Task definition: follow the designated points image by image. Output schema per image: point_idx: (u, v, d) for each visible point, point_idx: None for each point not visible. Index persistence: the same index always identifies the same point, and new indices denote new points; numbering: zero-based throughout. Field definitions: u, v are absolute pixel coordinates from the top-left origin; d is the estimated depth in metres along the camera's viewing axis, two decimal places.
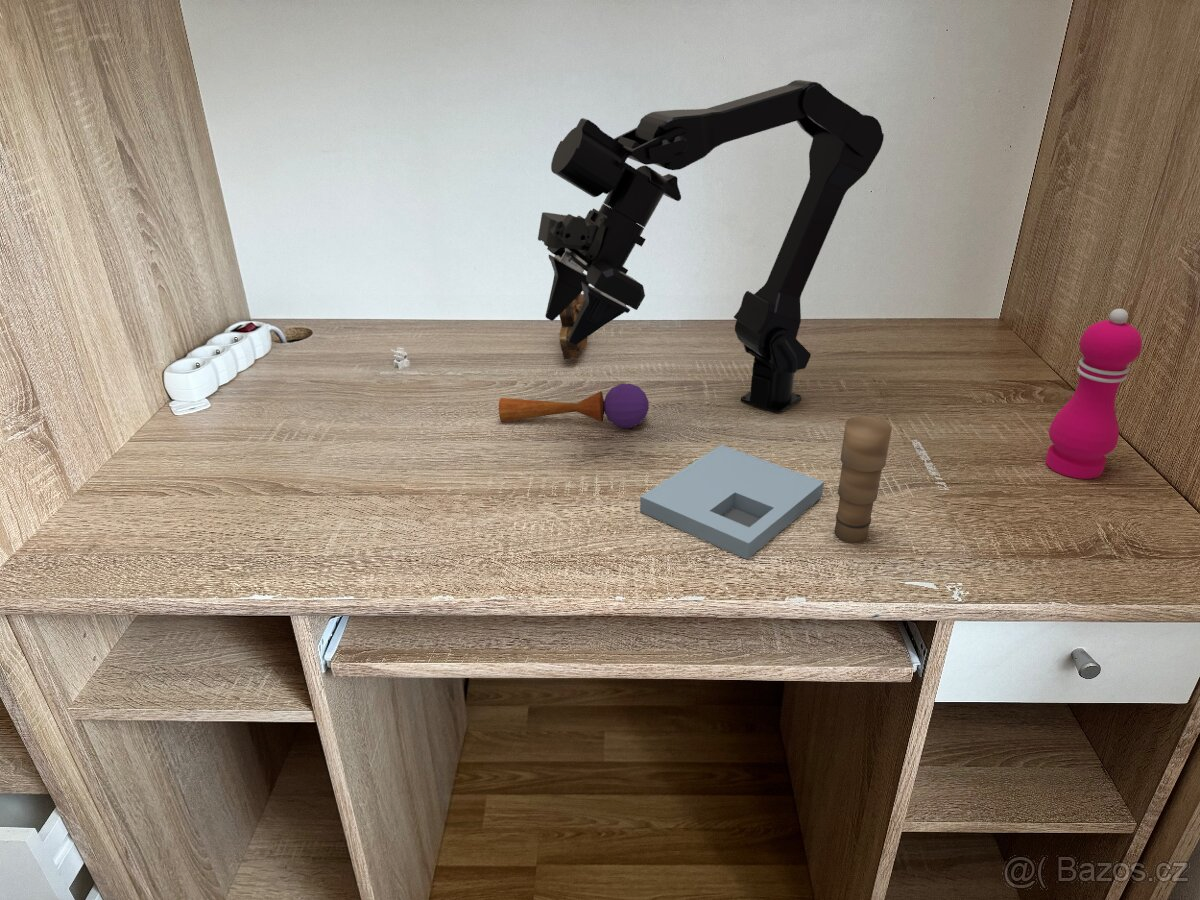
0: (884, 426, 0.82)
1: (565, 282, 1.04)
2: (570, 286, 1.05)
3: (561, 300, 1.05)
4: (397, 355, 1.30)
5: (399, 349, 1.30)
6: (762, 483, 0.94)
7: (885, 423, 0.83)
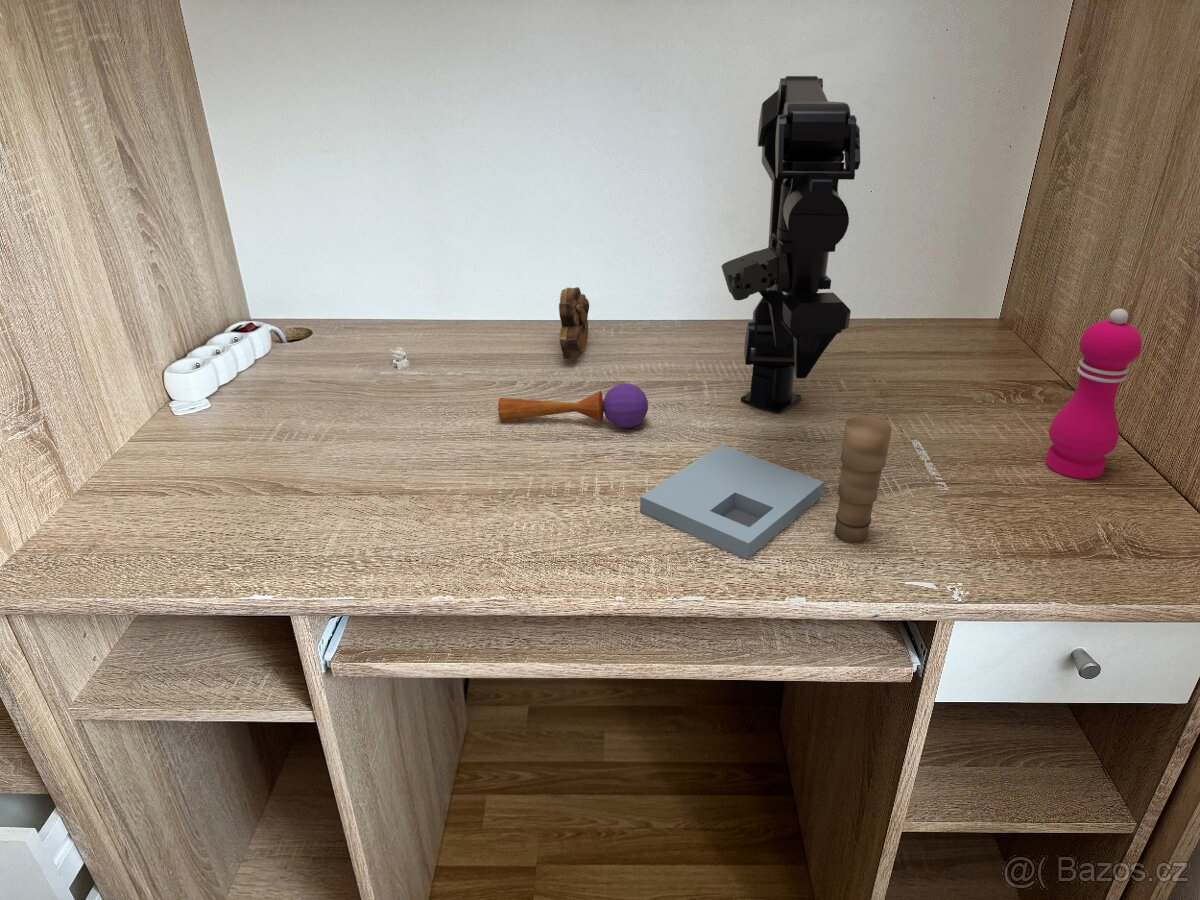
0: (884, 426, 0.82)
1: (781, 307, 0.99)
2: None
3: (784, 326, 0.99)
4: (396, 355, 1.30)
5: (398, 349, 1.30)
6: (762, 483, 0.94)
7: (885, 423, 0.83)
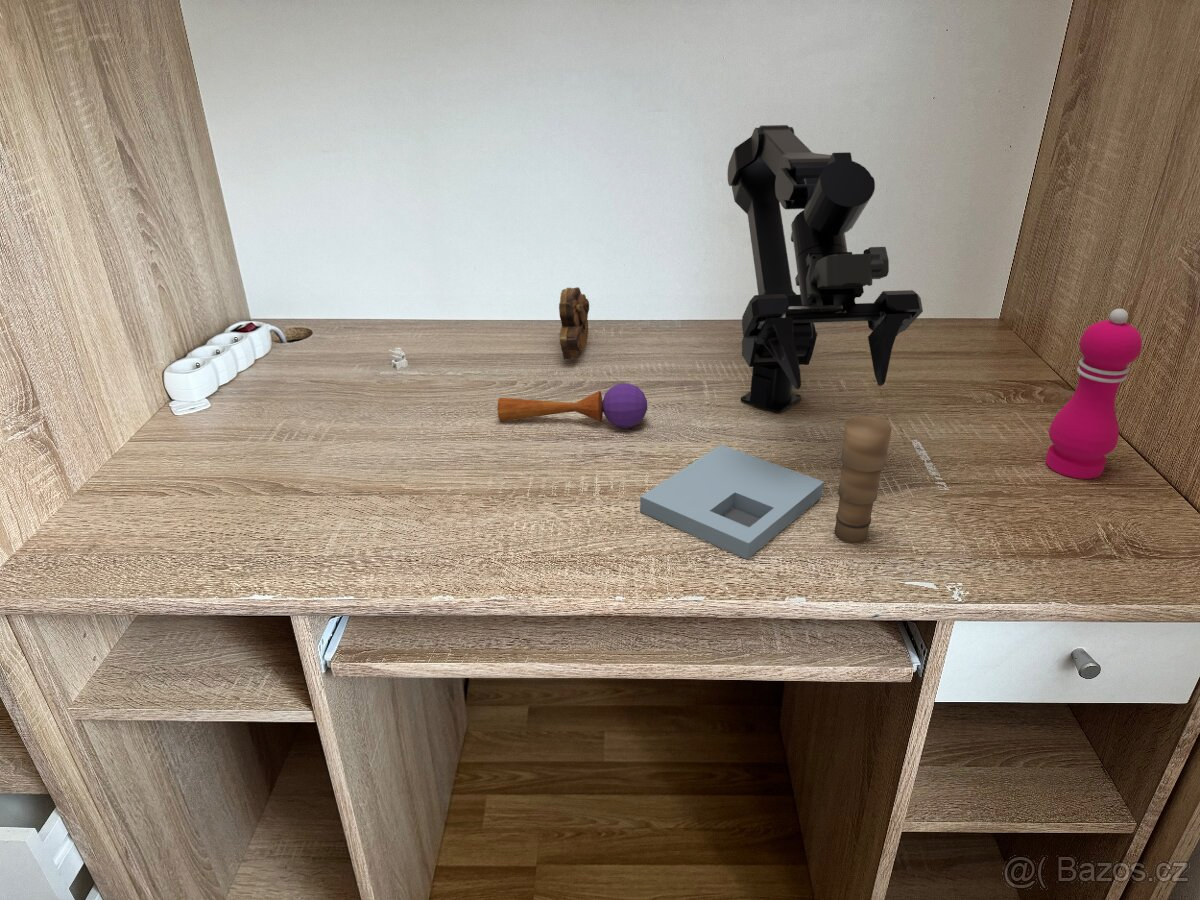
0: (884, 426, 0.82)
1: None
2: None
3: None
4: (395, 355, 1.30)
5: (397, 349, 1.30)
6: (762, 483, 0.94)
7: (885, 423, 0.83)
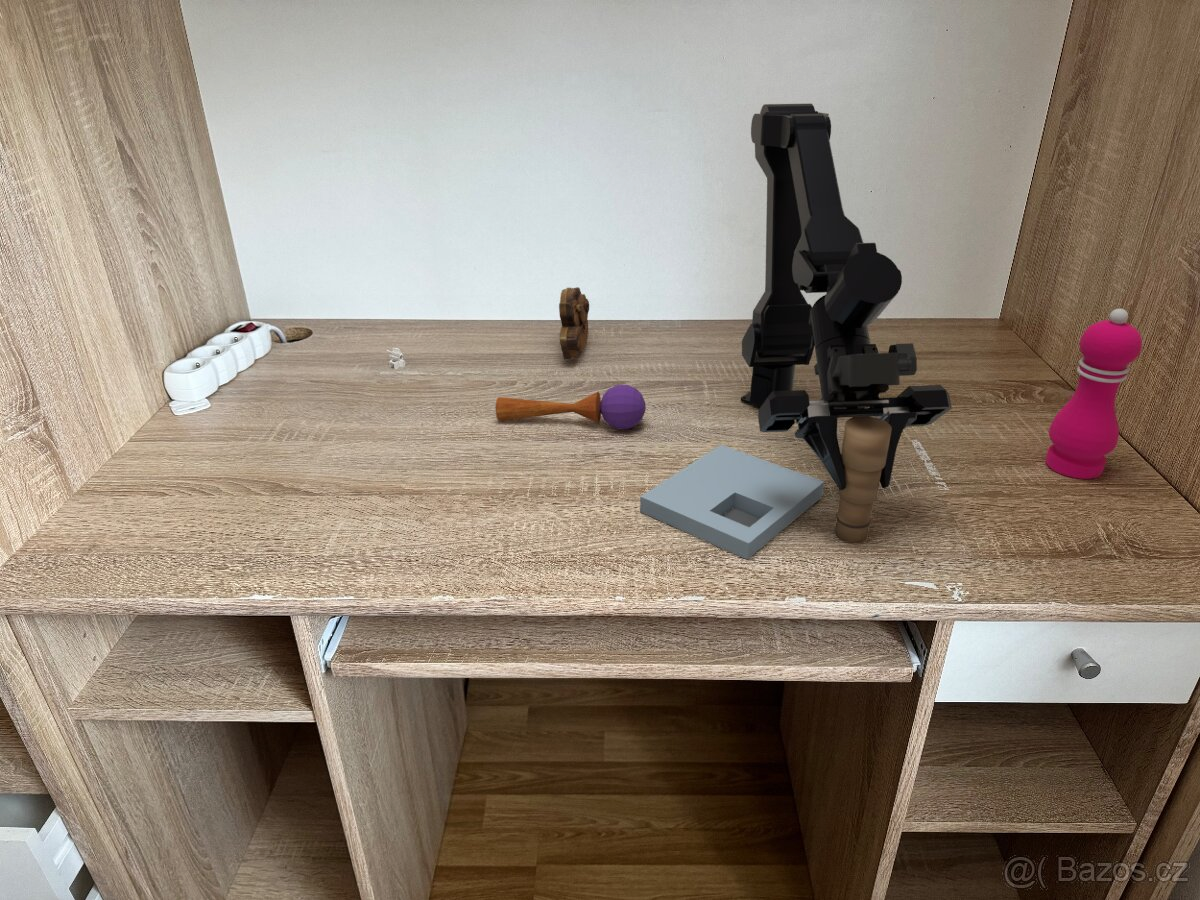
0: (884, 426, 0.82)
1: None
2: None
3: None
4: (393, 355, 1.30)
5: (395, 349, 1.30)
6: (762, 483, 0.94)
7: (885, 423, 0.83)
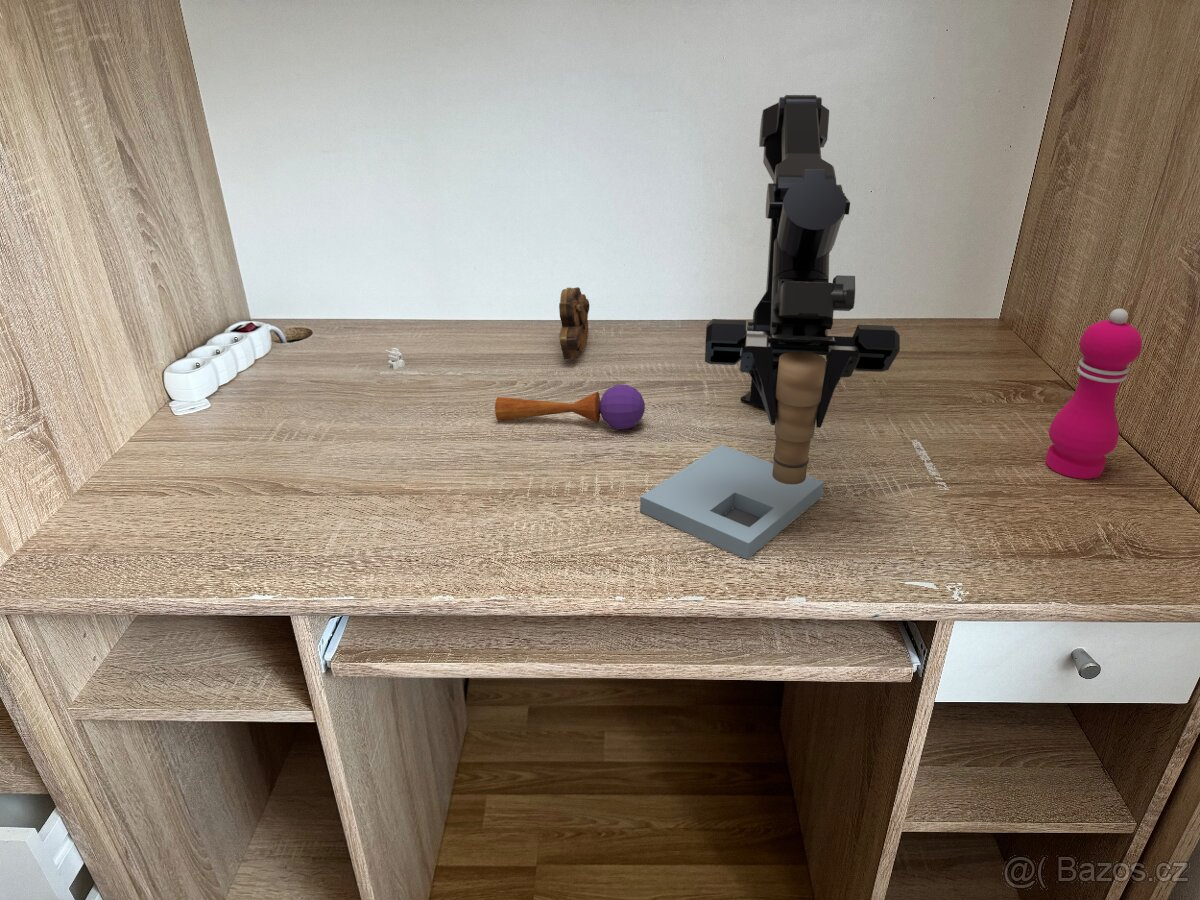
0: (818, 361, 0.79)
1: None
2: None
3: None
4: (392, 355, 1.30)
5: (394, 349, 1.30)
6: (762, 483, 0.94)
7: (822, 358, 0.80)
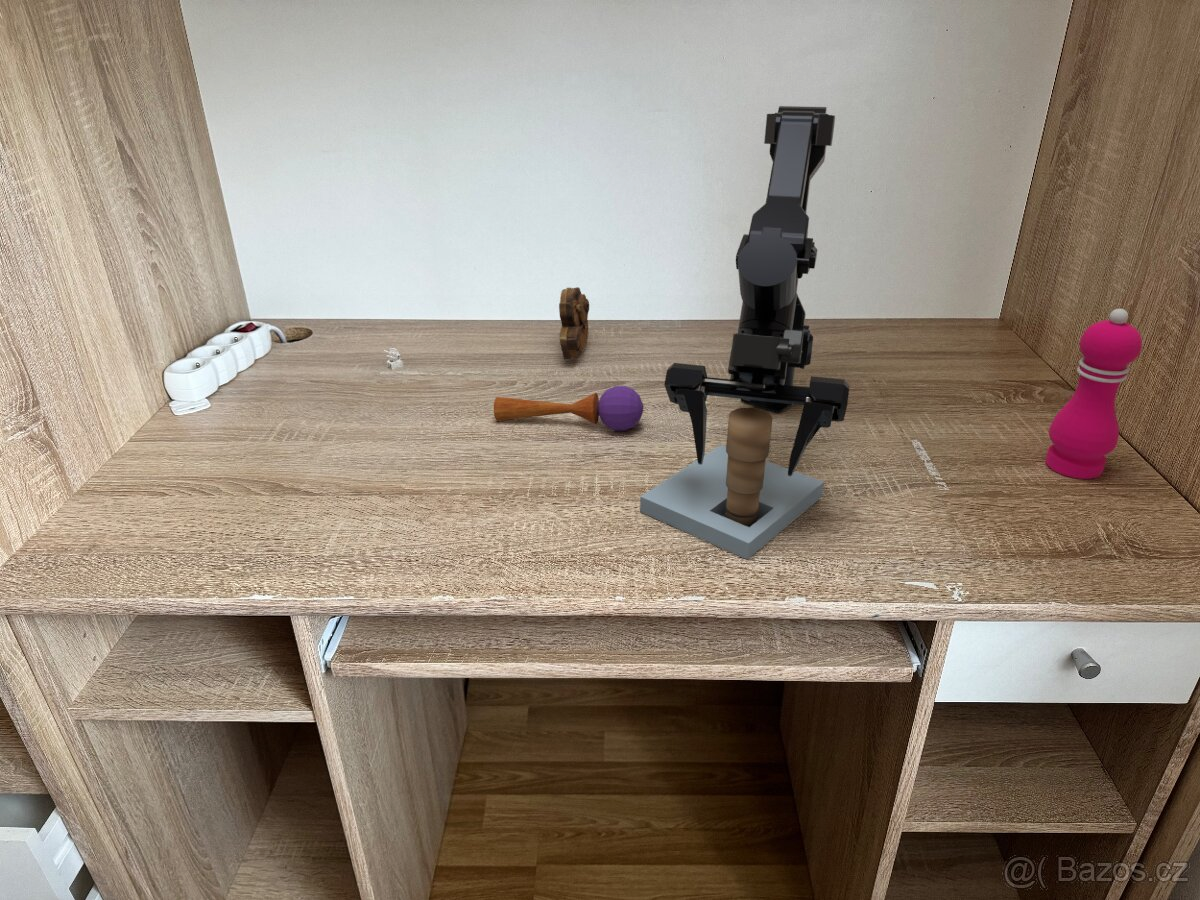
0: (765, 420, 0.83)
1: None
2: None
3: (704, 438, 0.87)
4: (390, 355, 1.30)
5: (392, 349, 1.30)
6: None
7: (769, 417, 0.84)
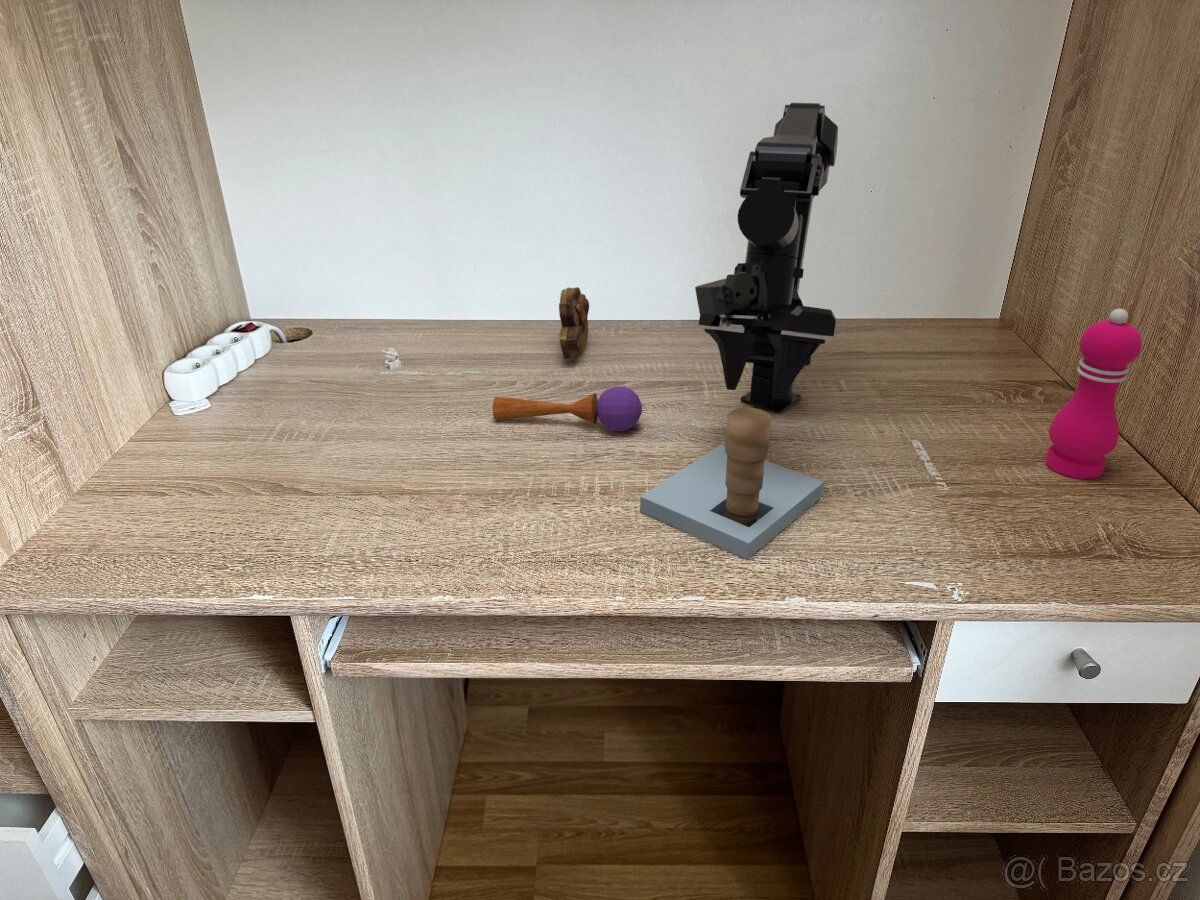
0: (763, 420, 0.83)
1: (732, 348, 0.99)
2: (738, 350, 1.00)
3: (736, 366, 1.00)
4: (388, 356, 1.30)
5: (390, 350, 1.30)
6: None
7: (768, 417, 0.84)
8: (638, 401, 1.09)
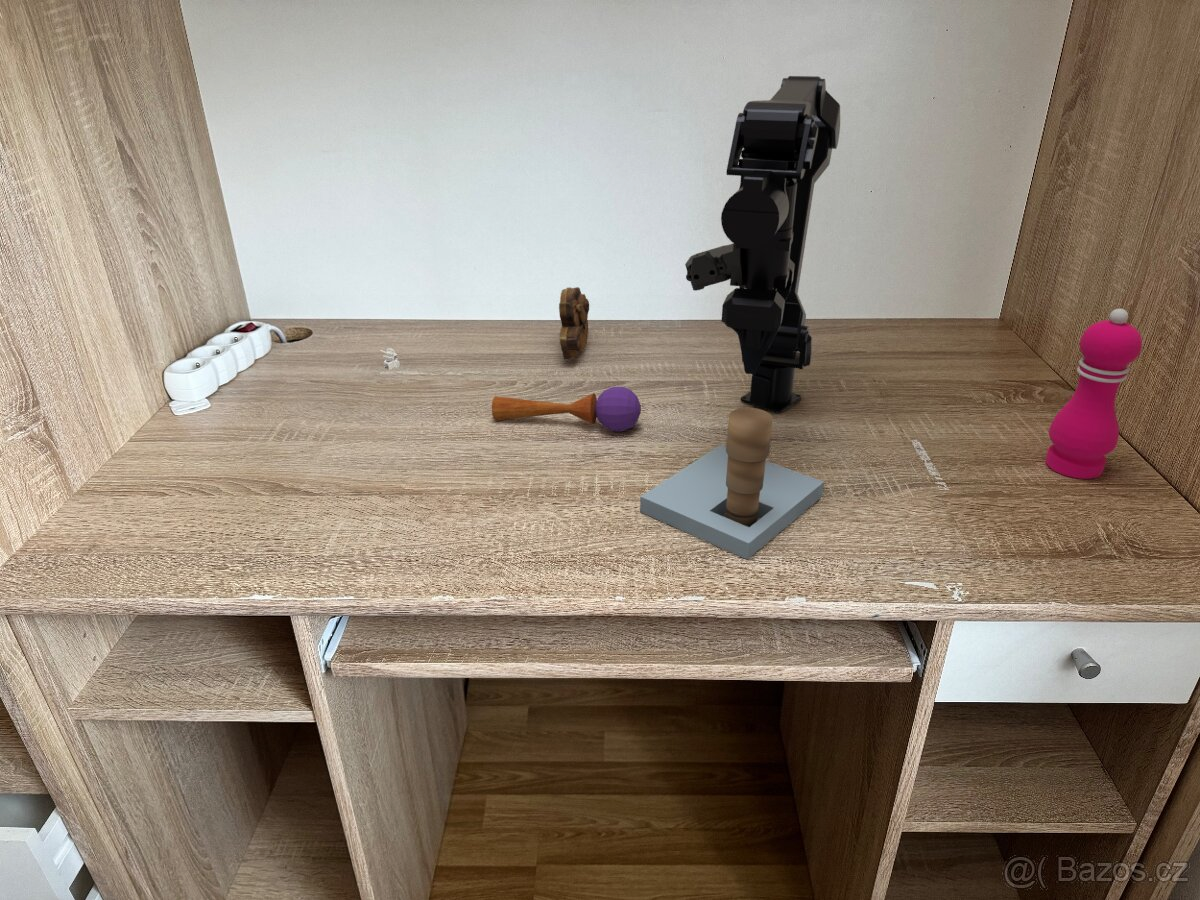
0: (765, 420, 0.83)
1: None
2: None
3: None
4: (387, 356, 1.30)
5: (389, 350, 1.30)
6: None
7: (769, 417, 0.84)
8: (637, 401, 1.09)
